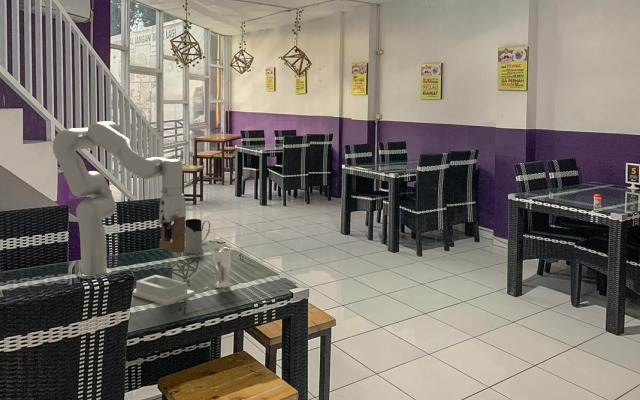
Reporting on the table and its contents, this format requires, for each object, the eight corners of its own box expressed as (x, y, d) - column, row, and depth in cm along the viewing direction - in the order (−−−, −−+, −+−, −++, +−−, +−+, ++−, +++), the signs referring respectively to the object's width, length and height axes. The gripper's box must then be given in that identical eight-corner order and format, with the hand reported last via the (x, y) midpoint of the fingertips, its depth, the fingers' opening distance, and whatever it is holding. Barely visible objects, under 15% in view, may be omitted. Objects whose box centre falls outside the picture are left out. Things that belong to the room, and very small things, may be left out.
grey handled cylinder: (180, 250, 263) (180, 220, 260) (204, 245, 274) (204, 216, 271) (191, 254, 257) (191, 223, 255) (215, 248, 268) (215, 219, 265)
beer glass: (223, 281, 220) (222, 245, 217) (234, 286, 216) (234, 249, 213) (209, 286, 215) (209, 249, 212) (221, 290, 210) (221, 252, 208)
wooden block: (178, 253, 211) (178, 207, 208) (159, 248, 217) (159, 203, 213) (185, 251, 214) (185, 206, 211) (166, 246, 220) (166, 202, 217)
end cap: (128, 293, 204) (128, 281, 203) (157, 283, 215) (157, 272, 215) (166, 305, 194) (166, 292, 193) (194, 294, 205) (194, 282, 205)
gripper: (162, 195, 202) (162, 243, 206) (194, 190, 216) (194, 235, 220) (148, 192, 206) (148, 239, 209) (180, 187, 220) (180, 231, 223)
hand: (172, 236), depth 214 cm, fingers closed on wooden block, 3 cm apart
